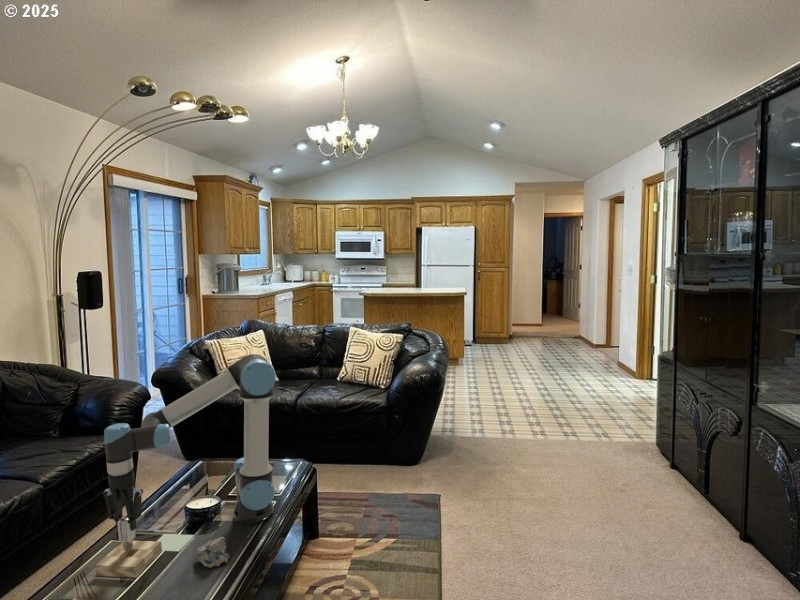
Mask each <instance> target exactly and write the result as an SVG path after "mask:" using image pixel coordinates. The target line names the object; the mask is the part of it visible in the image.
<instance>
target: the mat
mask: <svg viewBox="0 0 800 600" xmlns="http://www.w3.org/2000/svg"><path fill="white" fill-rule="evenodd" d="M194 536H195V534H180V533H179V534H177V533H175V534H174V533H164V534H163V535H161V537H159V538H158V539H157V540H156V542H161V545H162V552H164V551H165V552H180V551H181V550H182V549H183V548H184V546H186V545H187V544H188V542H189V541H191V540H192V539H193V537H194Z"/></svg>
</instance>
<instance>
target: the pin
mask: <svg viewBox="0 0 800 600" xmlns="http://www.w3.org/2000/svg"><path fill="white" fill-rule="evenodd" d="M122 518H123V519H122ZM122 518H121V520H120V521H121V531H122V541H121V543H122V542H123V550H130V549H132V548H133V541H134V538H133V539H132V540H131V541H128V534H127V524H126V522H127V521H128V516H125V517H122Z"/></svg>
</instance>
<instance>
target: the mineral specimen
mask: <svg viewBox="0 0 800 600" xmlns="http://www.w3.org/2000/svg"><path fill="white" fill-rule="evenodd" d="M226 541H227V540H226V538H225V537H224V536H221V537H218V538H214V539H211V540H210V539H209V540H207V542H205V544H203V545H201V546H199V547H198V548H197V551H196V555H197V557H196V560H198V562H199V563H201V564H202V565H203V566H204V567H207V568H213V567H219V566H220V565H221V564H222V563H225V564H228V562H229V558H230V554H229V553H228V552H227V547H228V546H227V544H226Z"/></svg>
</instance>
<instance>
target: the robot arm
mask: <svg viewBox="0 0 800 600" xmlns="http://www.w3.org/2000/svg"><path fill="white" fill-rule="evenodd" d="M276 377H277V375H276V371H275V369H274V367H273V365H272V364H271V363H270V361H268V360H267V359H266V358H265V357H264V356H262V355H260V354H258V353H257V354H255V353H252V354H247V355H245V356H243V357H242V358H240V359H238V360H237V361H235V362H233V363H232V364H231V365H228V366H227V367H226V368H225V371H224V372H222V373H220V374H218V375H217V376H215V377H213V378H212V379H210V380H208V381H207V382H205V383H203V384H202V385H200V386H198V387H196V388H195V389H193V390H191V391H190V392H188V393H186V394H185V395H183V396H181V397H180V398H177V399H176V400H174V401H173V402H172V403H170V404H168V405H166V406H164V407H163V408H161V409H159V410H158V411H153V412H150V413H148V414H146V416H145V417H144V418H143V419H142V422H141V427H137V428H136V427H135V428H131V427H130V424H128V422H127V423H125V422H121V423H119V422H118V423H114V424H111V425H109V426H106V427H105V428H104V430H103V434H104V435H103V436H104V439H103V440H104V443H103V444H104V450H105V459H106V469H107V470H106V471H107V474H108V475H107V479H108V486H109V487H108V488H106V489H105V490H104V491H102V493H101V494H102V496H103V497H104V499H105V505H106V510H107V515H108V519H109V520H110V521H111V520H113V521H114V522H115V529H116V531H117V533H118V541H120V542H122V531H121V521H120V520H121V519H123V518H124V516H125V515H124V514H123V510H124V508H123V507H125V511H126V517H128V521H127V522H126V524H127V534H128V541H131V540H132V539H133V540H134V539H135V538H136V529H137V520H138V519H139V518H141V517H142V495H143V493H144V490H143V488H141V489H139V488H136V485H135V472H134V471H135V470H134V460H133V459H134V458H133V453H134V452H141V451H146V450H154V449H161V448H164V447H168V446H170V445H171V442H172V441H171V440H172V439H171V438H172V437H171V428H173V427H174V426H176V425H178V424H179V423H181V422H182V421H184V420H186V419H187V418H189V417H191V416H193V415H194V414H195V413H197V412H199V411H201V410H202V409H204V408H206V407H208V406H209V405H211V404H212V403H214V402H216V401H217V400H219V399H221V398H222V397H224V396H225V395H228V394H229V393H231V392H233V391H235V390H236V389H237V390H239V398H240V399H241V400H242V401H243V402H244V403H243V405H244V406H243V408H244V409H243V411H244V412H243V416H244V417H243V420H244V421H243V457H240V458H238V459H236V460H235V462H234V467H233V468H234V469H233V470H234V477H235V488H236V502H235V505H234V506H235V507H234V509H233V520H234V522H236V523H238V524H240V525H255V524H259V523H261V522H260V521H262V520H263V519H264V518H266V517H267V516H269V515H270V514H271V513H272V512H273V510H274V511H275V508H274V504H273V499H274V497H275V493H276V492H275V490H276V489H275V485H274V484H273V466H272V465H271V464H270V463H269V441H270V440H269V435H270V433H269V430H270V429H269V428H270V427H269V426H270V425H269V422H270V420H269V417H270V416H269V415H270V400H271V398H272V397H273V396H274V386H275V384H276ZM123 505H124V506H123ZM273 513H274V512H273ZM258 522H259V523H258ZM262 522H263V521H262Z"/></svg>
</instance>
